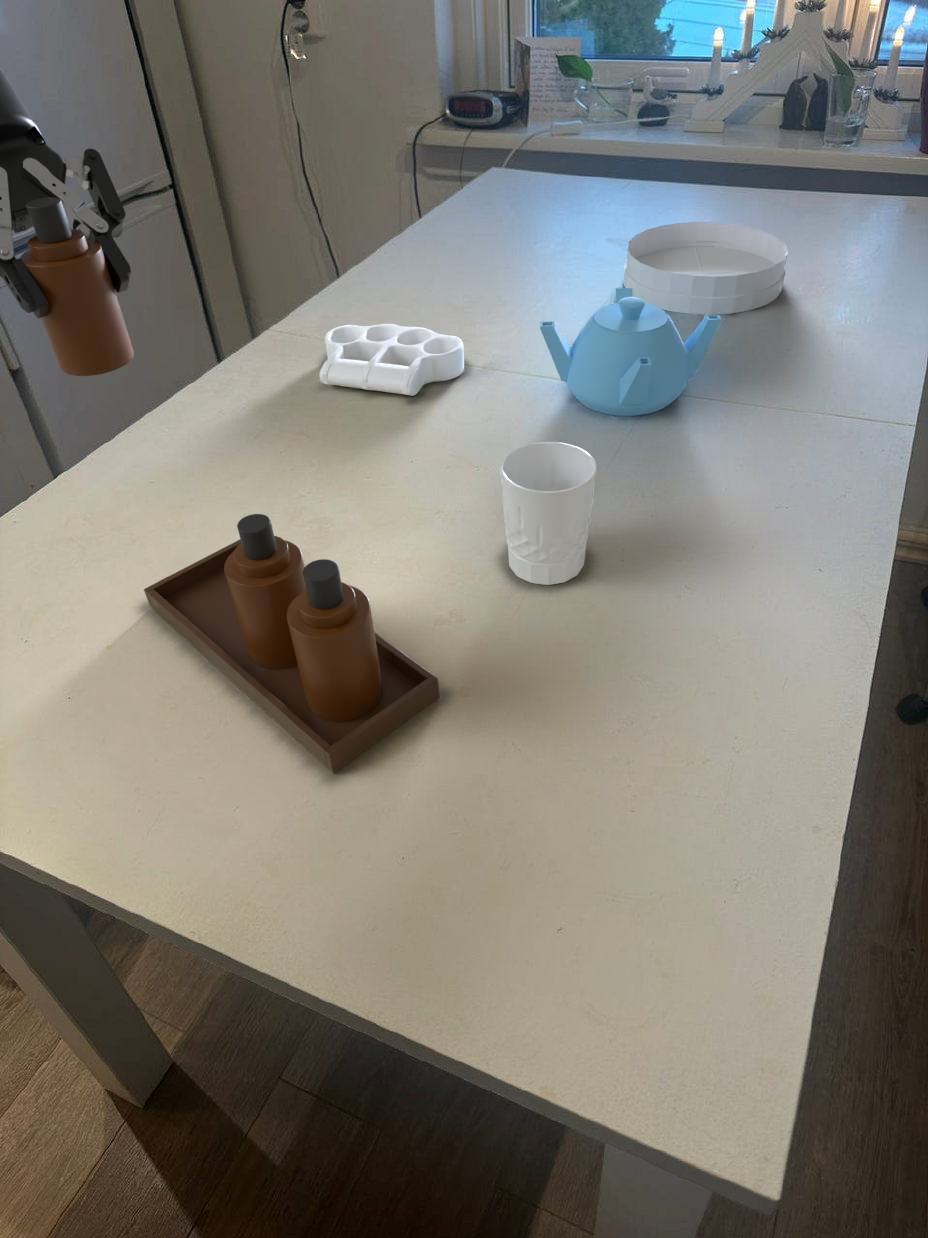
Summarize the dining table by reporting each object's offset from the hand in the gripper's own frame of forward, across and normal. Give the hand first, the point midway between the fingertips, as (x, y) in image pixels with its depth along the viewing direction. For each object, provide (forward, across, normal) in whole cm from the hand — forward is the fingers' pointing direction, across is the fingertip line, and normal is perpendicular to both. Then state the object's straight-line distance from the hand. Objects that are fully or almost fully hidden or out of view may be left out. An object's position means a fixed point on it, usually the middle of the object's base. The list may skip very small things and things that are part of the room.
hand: (84, 298), depth 66 cm
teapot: (+26, +53, +9) cm, 59 cm away
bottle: (+3, 0, +5) cm, 6 cm away
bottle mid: (+30, 0, +3) cm, 30 cm away
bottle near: (+36, 0, -2) cm, 36 cm away
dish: (+17, +86, +18) cm, 89 cm away
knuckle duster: (+8, +38, +27) cm, 47 cm away
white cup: (+36, +23, -2) cm, 43 cm away
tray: (+30, 0, +4) cm, 31 cm away
